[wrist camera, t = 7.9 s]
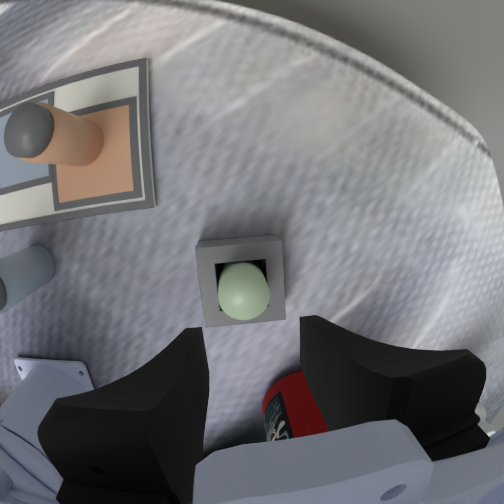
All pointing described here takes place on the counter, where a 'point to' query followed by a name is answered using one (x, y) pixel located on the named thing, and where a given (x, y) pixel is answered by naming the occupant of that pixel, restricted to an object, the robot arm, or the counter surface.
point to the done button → (243, 290)
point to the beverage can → (291, 410)
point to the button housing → (233, 252)
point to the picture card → (98, 172)
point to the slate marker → (24, 274)
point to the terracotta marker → (51, 136)
